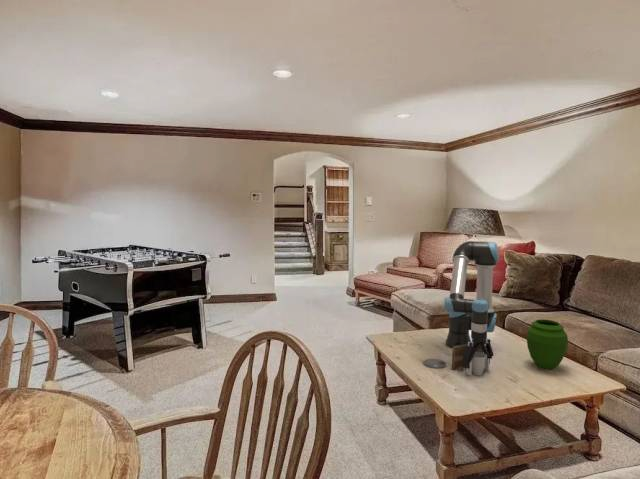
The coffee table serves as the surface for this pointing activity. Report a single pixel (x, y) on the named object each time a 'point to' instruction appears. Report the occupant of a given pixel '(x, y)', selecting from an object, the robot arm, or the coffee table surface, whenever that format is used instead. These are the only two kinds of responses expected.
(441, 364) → the coaster
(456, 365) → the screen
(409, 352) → the coffee table surface
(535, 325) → the vase
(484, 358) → the cup
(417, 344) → the coffee table surface
